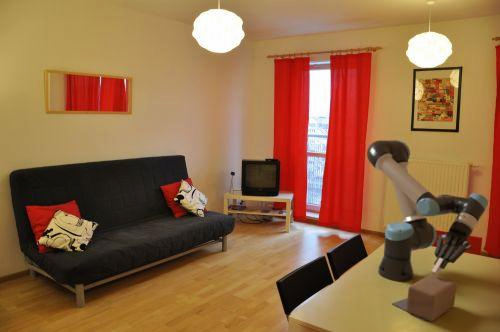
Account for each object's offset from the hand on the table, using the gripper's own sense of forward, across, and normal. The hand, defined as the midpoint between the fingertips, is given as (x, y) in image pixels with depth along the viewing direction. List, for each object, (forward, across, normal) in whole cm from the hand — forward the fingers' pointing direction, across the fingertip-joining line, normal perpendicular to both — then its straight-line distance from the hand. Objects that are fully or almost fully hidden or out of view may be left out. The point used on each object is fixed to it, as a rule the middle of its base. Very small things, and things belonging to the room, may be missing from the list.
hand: (434, 273), depth 156 cm
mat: (+13, 0, +4) cm, 13 cm away
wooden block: (+2, +2, +8) cm, 8 cm away
